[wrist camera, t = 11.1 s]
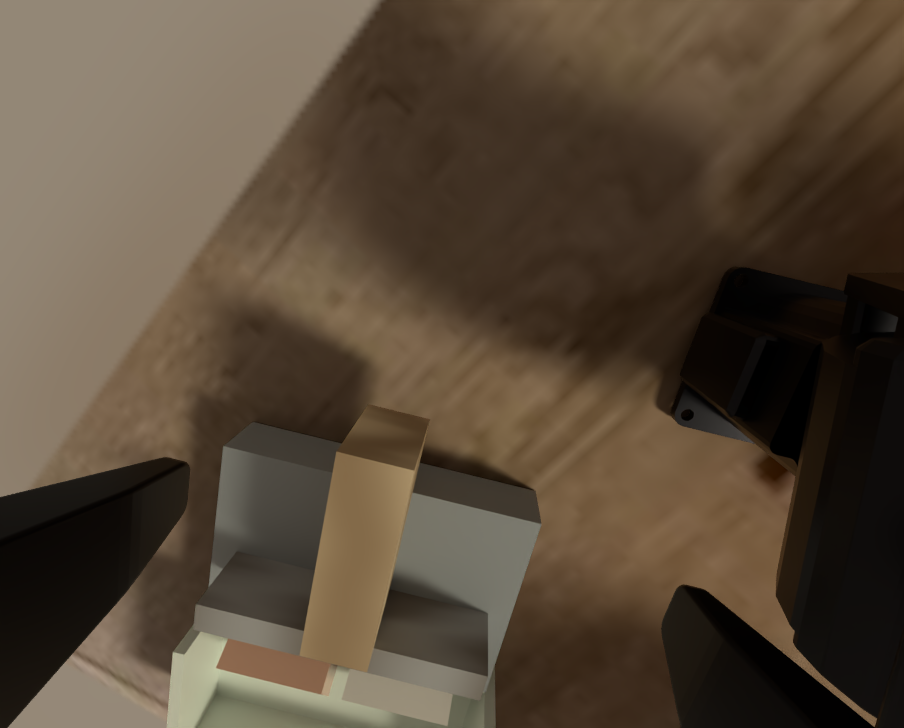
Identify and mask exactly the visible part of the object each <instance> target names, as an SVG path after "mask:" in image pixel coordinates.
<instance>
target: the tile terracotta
mask: <svg viewBox="0 0 904 728" xmlns="http://www.w3.org/2000/svg"><path fill="white" fill-rule="evenodd" d="M216 668H217V669H221V670H225V671H228V672H232V673H236V674H240V675H244V676H248V677H252V678H256V679H260V680H264V681H268V682H272V683H276V684H280V685H284V686H288V687H292V688H296V689H300V690H304V691H308V692H312V693H316V694H320V695H324V696H328V697H329V693H330V690H331V687H332V683H333V680H334V676H335V673H336V669H337V665H333V664H329V663H325V662H321V661H317V660H313V659H309V658H305V657H301V656H297V655H293V654H289V653H285V652H281V651H277V650H273V649H269V648H265V647H261V646H257V645H253V644H249V643H245V642H241V641H237V640H233V639H229V638H228V640H227V643H226V645H225V647H224V650H223V652H222V655H221V657H220V659H219V662H218V664H217V666H216Z"/></svg>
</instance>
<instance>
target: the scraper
mask: <svg viewBox="0 0 904 728" xmlns="http://www.w3.org/2000/svg"><path fill="white" fill-rule="evenodd" d="M429 421H430V419H426V418H422V417H418V416H414V415H410V414H405V413H401V412H397V411H393V410H389V409H385V408H381V407H377V406H373V405H369V404H368V405H367V407H366V408H365V410H364V411H363V413H362V414H361V416H360V417H359V419H358V420H357V422H356V423H355V425H354V426H353V428H352V429H351V431H350V432H349V434H348V435H347V437H346V438H345V440H344V441H343V442H342V444H341V445H340V447H339V448H338V450H337V451H336V456H335V462H334V467H333V473H332V478H331V484H330V490H329V495H328V501H327V506H326V512H325V517H324V523H323V528H322V534H321V539H320V545H319V551H318V556H317V562H316V567H315V571H314V570H310V569H306V568H302V567H298V566H294V565H290V564H286V563H282V562H278V561H274V560H270V559H266V558H262V557H258V556H254V555H250V554H246V553H241V552H236V553H235V554H234V555H233V557H232V558H231V559H230V561H229V562H228V563H227V564H226V566H225V567H224V568H223V570H222V571H221V572H220V574H219V575H218V576H217V577H216V579H215V580H214V581H213V583H212V584H211V585H210V586H209V588H208V589H207V590H206V592H205V593H204V594H203V595H202V597H201V598H200V599H199V601H198V602H197V603H196V607H195V617H194V627H193V630H197V631H201V632H205V633H209V634H213V635H217V636H221V637H225V638H229V639H233V640H237V641H241V642H245V643H249V644H253V645H257V646H261V647H265V648H269V649H273V650H277V651H281V652H285V653H289V654H293V655H297V656H301V657H305V658H309V659H313V660H317V661H321V662H325V663H329V664H333V665H337V666H342V667H346V668H350V669H354V670H358V671H362V672H366V673H370V674H374V675H378V676H382V677H386V678H390V679H394V680H398V681H402V682H406V683H410V684H414V685H418V686H422V687H426V688H430V689H434V690H438V691H442V692H446V693H450V694H454V695H458V696H462V697H466V698H470V699H474V700H478V701H480V700H481V697H482V694H483V690H484V687H485V684H486V681H487V678H488V613H484V612H480V611H476V610H472V609H468V608H464V607H460V606H456V605H452V604H448V603H444V602H440V601H436V600H432V599H428V598H423V597H419V596H415V595H411V594H407V593H403V592H399V591H395V590H391V589H390V586H391V581H392V577H393V573H394V569H395V564H396V560H397V556H398V552H399V548H400V543H401V539H402V535H403V531H404V526H405V522H406V518H407V514H408V510H409V505H410V501H411V497H412V493H413V489H414V484H415V480H416V476H417V472H418V467H419V463H420V459H421V455H422V451H423V446H424V442H425V438H426V434H427V430H428V425H429Z"/></svg>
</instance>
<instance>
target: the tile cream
mask: <svg viewBox="0 0 904 728" xmlns="http://www.w3.org/2000/svg"><path fill="white" fill-rule="evenodd" d="M452 696H453V694H450V693H446V692H442V691H438V690H434V689H430V688H426V687H422V686H418V685H414V684H410V683H406V682H402V681H398V680H394V679H390V678H386V677H382V676H378V675H374V674H370V673H366V672H362V671H358V670H354V669H350V671H349V675H348V678H347V682H346V685H345V689H344V693H343V696H342V700H344V701H348V702H352V703H356V704H360V705H364V706H368V707H372V708H376V709H380V710H384V711H388V712H392V713H396V714H400V715H404V716H408V717H412V718H416V719H420V720H424V721H428V722H432V723H436V724H440V725H444V726H448V720H449V714H450V708H451V702H452Z"/></svg>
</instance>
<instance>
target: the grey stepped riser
mask: <svg viewBox="0 0 904 728" xmlns="http://www.w3.org/2000/svg"><path fill="white" fill-rule="evenodd" d="M340 445H341V443H337V442H333V441H329V440H325V439H321V438H317V437H313V436H309V435H305V434H301V433H297V432H292V431H288V430H284V429H280V428H276V427H272V426H268V425H264V424H260V423H256V422H252V423H251V424H249V425H248V426H247V427H246V428H245V429H243V430H242V431H241V432H240V433H239V434H237V435H236V436H235V437H234V438H233V439H231V440H230V441H229V442H228V443H226V444H225V445H224V446H223V454H222V464H221V473H220V483H219V492H218V502H217V511H216V521H215V531H214V540H213V550H212V559H211V569H210V578H209V586H210V585H211V584H212V583H213V581H214V580H215V579H216V577H217V576H218V575H219V574H220V572H221V571H222V570H223V568H224V567H225V566H226V564H227V563H228V562H229V561H230V559H231V558H232V557H233V555H234V554H235V553H236V552H241V553H246V554H250V555H254V556H258V557H262V558H266V559H270V560H274V561H278V562H282V563H286V564H290V565H294V566H298V567H302V568H306V569H310V570H314V571H315V567H316V562H317V556H318V551H319V545H320V539H321V534H322V528H323V523H324V517H325V512H326V506H327V501H328V495H329V490H330V484H331V478H332V473H333V467H334V462H335V456H336V451H337V450H338V448H339V447H340ZM540 527H541V519H540V514H539V508H538V502H537V497H536V491H533V490H529V489H525V488H521V487H517V486H513V485H509V484H505V483H501V482H497V481H492V480H488V479H484V478H480V477H476V476H472V475H468V474H464V473H460V472H456V471H452V470H448V469H443V468H439V467H435V466H431V465H427V464H423V463H419V467H418V472H417V476H416V480H415V484H414V489H413V493H412V497H411V501H410V505H409V510H408V514H407V518H406V522H405V526H404V531H403V535H402V539H401V543H400V548H399V552H398V556H397V560H396V564H395V569H394V573H393V577H392V581H391V586H390V589H391V590H395V591H399V592H403V593H407V594H411V595H415V596H419V597H423V598H428V599H432V600H436V601H440V602H444V603H448V604H452V605H456V606H460V607H464V608H468V609H472V610H476V611H480V612H484V613H488V678H487V681H486V684H485V687H484V690H483V692H485V693H486V690H487V687H488V684H489V681H490V678H491V675H492V672H493V669H494V666H495V663H496V660H497V657H498V654H499V651H500V648H501V645H502V642H503V639H504V636H505V633H506V630H507V627H508V624H509V621H510V617H511V614H512V611H513V608H514V605H515V602H516V599H517V596H518V593H519V590H520V587H521V584H522V581H523V578H524V575H525V572H526V569H527V566H528V563H529V560H530V557H531V554H532V551H533V548H534V545H535V542H536V539H537V536H538V533H539V530H540Z"/></svg>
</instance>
